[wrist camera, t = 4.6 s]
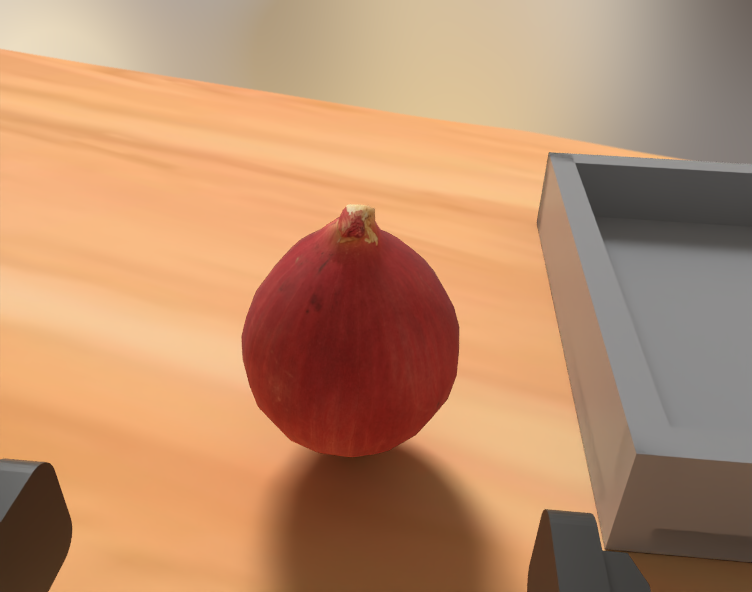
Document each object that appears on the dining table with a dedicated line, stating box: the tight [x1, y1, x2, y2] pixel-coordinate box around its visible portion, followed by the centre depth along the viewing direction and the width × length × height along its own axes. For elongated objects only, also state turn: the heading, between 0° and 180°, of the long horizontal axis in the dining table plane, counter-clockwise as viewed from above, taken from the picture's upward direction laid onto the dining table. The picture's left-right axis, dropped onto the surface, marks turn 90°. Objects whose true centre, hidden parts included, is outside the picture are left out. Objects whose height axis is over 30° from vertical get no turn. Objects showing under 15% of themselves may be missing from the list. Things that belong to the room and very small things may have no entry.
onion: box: [242, 205, 459, 457], centre depth 19 cm, size 6×6×8 cm
